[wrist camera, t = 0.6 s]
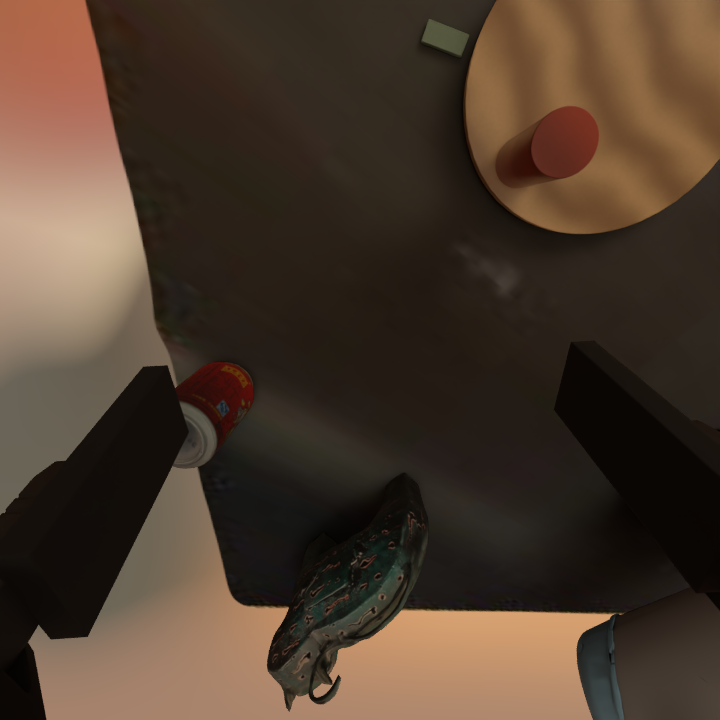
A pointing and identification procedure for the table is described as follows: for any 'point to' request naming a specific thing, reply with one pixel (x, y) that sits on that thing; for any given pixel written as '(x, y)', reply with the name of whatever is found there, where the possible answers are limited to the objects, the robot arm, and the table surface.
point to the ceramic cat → (349, 592)
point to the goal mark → (445, 38)
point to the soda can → (212, 409)
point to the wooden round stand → (594, 108)
